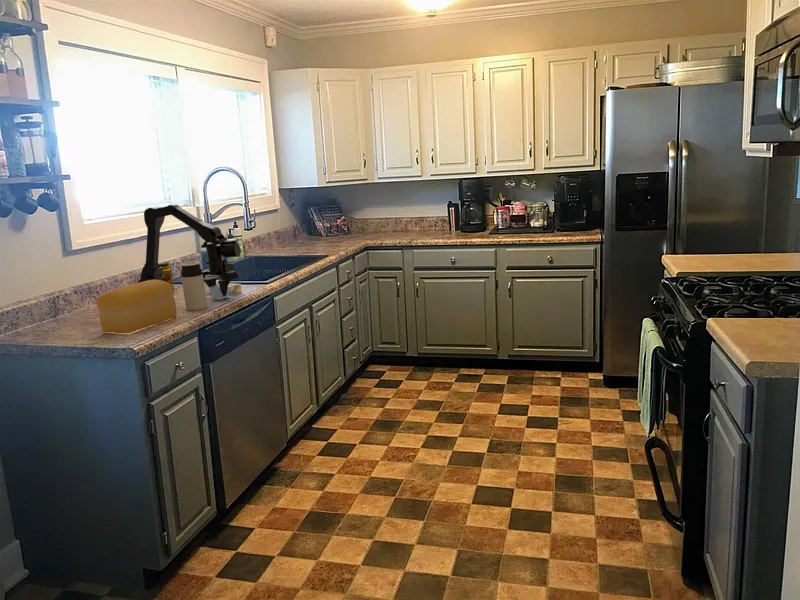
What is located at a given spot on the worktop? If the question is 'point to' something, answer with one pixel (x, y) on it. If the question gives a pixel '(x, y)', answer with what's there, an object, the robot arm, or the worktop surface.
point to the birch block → (234, 289)
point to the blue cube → (217, 292)
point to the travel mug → (193, 286)
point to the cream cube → (207, 289)
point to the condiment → (166, 273)
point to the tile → (232, 296)
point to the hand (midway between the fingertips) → (220, 295)
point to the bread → (136, 306)
